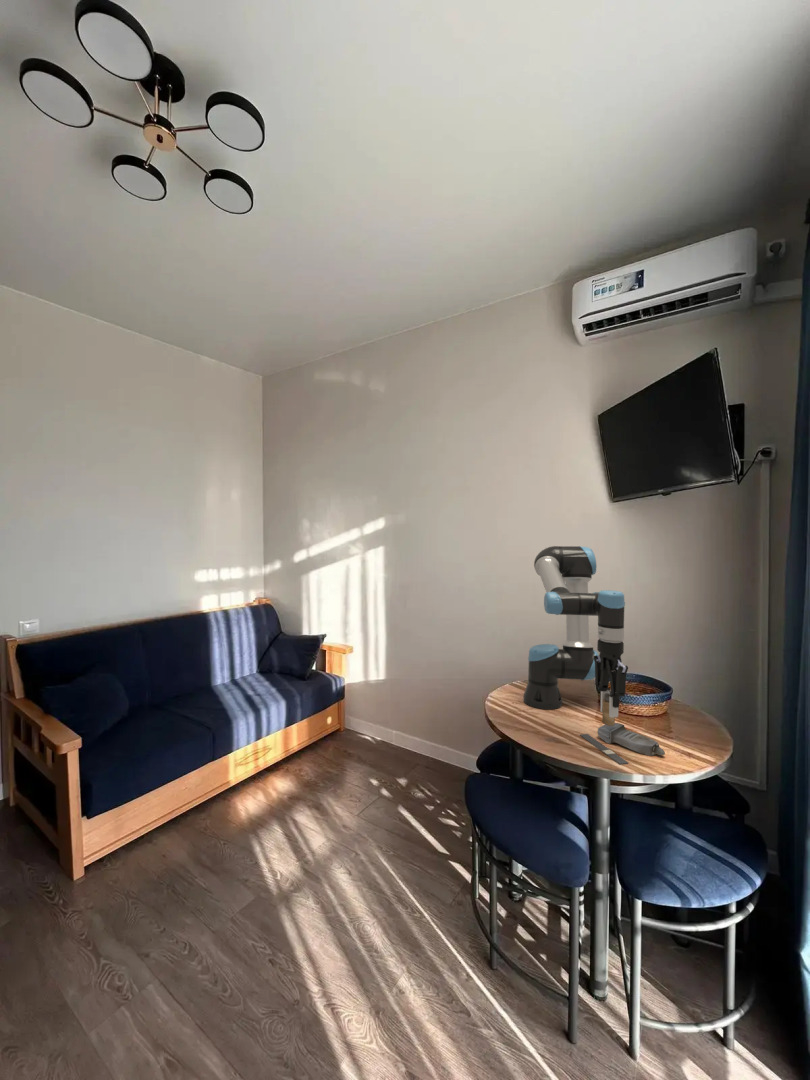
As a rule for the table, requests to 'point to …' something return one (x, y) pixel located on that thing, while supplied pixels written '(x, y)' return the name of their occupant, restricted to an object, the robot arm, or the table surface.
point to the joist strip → (604, 749)
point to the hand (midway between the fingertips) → (609, 714)
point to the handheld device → (629, 739)
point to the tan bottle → (607, 712)
